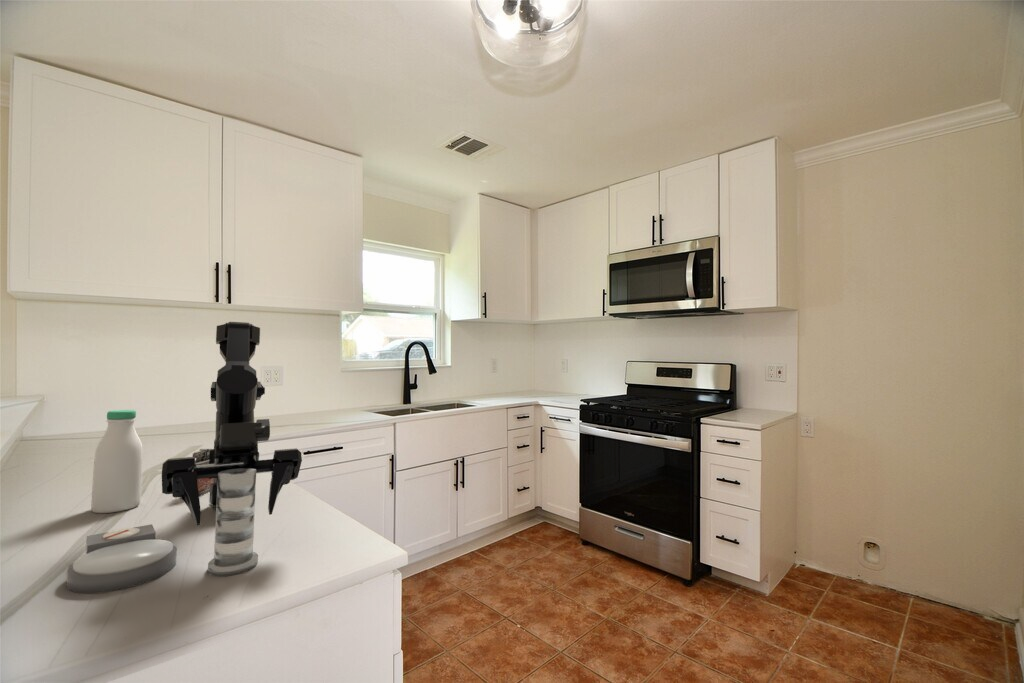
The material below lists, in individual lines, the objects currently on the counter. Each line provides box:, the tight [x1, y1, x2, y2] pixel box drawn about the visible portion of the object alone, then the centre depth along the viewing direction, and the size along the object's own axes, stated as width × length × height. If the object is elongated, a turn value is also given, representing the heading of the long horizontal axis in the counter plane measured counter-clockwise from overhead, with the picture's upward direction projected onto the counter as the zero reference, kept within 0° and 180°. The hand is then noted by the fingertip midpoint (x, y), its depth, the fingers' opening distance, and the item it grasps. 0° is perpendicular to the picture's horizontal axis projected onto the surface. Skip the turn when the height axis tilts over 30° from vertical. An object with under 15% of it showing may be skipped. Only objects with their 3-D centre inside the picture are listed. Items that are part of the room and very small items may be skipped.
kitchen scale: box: [66, 523, 178, 594], centre depth 68 cm, size 12×16×4 cm
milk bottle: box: [90, 409, 144, 514], centre depth 95 cm, size 8×8×20 cm
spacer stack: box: [207, 468, 259, 577], centre depth 69 cm, size 6×6×14 cm
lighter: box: [192, 448, 214, 497], centre depth 106 cm, size 8×3×10 cm, turn 5°
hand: (236, 518), depth 68 cm, fingers open, 9 cm apart
